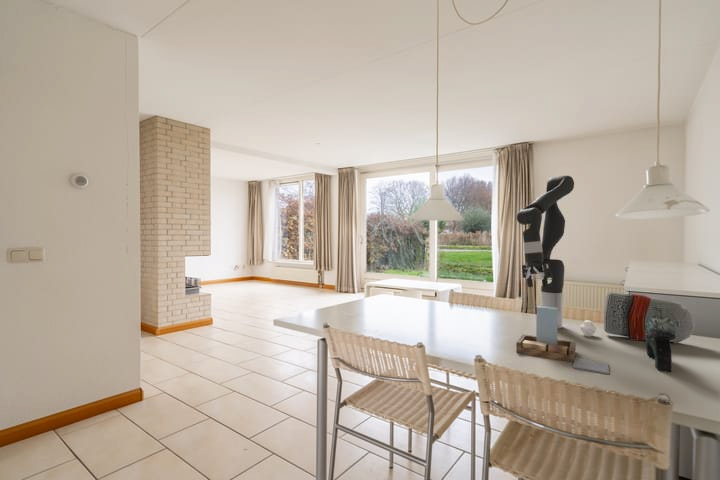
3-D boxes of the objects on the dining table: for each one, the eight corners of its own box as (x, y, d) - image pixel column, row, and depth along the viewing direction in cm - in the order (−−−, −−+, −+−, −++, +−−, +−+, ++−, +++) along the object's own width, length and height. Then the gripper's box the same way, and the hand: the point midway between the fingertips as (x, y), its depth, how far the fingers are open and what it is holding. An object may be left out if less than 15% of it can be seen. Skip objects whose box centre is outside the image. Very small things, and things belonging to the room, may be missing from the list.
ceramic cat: (676, 375, 115) (677, 313, 115) (651, 371, 118) (652, 311, 118) (661, 356, 132) (662, 303, 132) (639, 353, 135) (640, 301, 135)
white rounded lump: (599, 337, 156) (599, 321, 156) (585, 337, 156) (585, 321, 156) (590, 333, 162) (590, 318, 162) (577, 333, 162) (577, 318, 162)
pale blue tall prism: (536, 349, 140) (536, 307, 140) (537, 347, 143) (537, 305, 143) (556, 353, 136) (556, 309, 136) (557, 350, 139) (557, 307, 139)
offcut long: (522, 352, 138) (522, 342, 137) (524, 349, 141) (524, 339, 141) (545, 356, 133) (545, 346, 133) (546, 353, 136) (547, 343, 136)
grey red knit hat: (608, 292, 155) (699, 304, 141) (606, 290, 161) (693, 301, 147) (603, 335, 156) (692, 351, 142) (601, 331, 162) (687, 346, 148)
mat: (574, 359, 129) (574, 357, 129) (608, 364, 124) (608, 363, 124) (573, 368, 121) (573, 366, 121) (608, 374, 116) (608, 372, 116)
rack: (516, 352, 137) (516, 342, 137) (522, 343, 148) (522, 334, 148) (573, 362, 127) (573, 351, 127) (575, 352, 137) (575, 341, 137)
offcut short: (548, 357, 132) (548, 346, 132) (549, 354, 136) (549, 343, 136) (566, 360, 129) (566, 349, 129) (567, 357, 132) (567, 346, 132)
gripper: (552, 250, 156) (557, 287, 155) (528, 252, 170) (532, 286, 169) (539, 251, 154) (543, 288, 153) (515, 253, 168) (519, 287, 166)
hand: (537, 287), depth 161 cm, fingers open, 8 cm apart
